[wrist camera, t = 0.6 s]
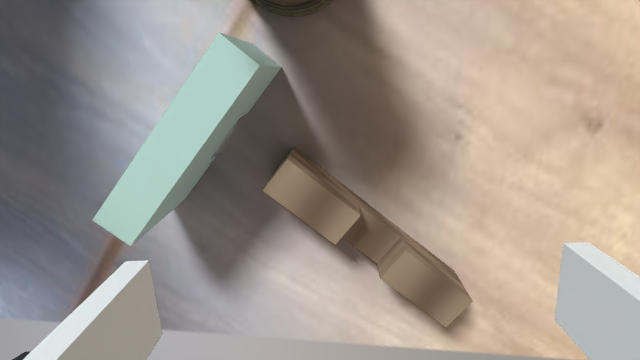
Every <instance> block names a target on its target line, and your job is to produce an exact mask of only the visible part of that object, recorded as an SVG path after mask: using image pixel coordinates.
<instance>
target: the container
mask: <svg viewBox="0 0 640 360" xmlns="http://www.w3.org/2000/svg"><path fill="white" fill-rule="evenodd" d="M253 1H254V2H256V3H257V4H258V5H260V6H261V7H263V8H265V9H266V10H269V11H271V12H273V13H276V14H280V15H285V16H303V15H308V14H312V13H314V12H317V11H319V10H320V9H322V8H324V7H325V6H326V5H328V4H329V3H330V2H331V1H332V0H253Z"/></svg>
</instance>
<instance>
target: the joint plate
mask: <svg viewBox="0 0 640 360" xmlns="http://www.w3.org/2000/svg"><path fill="white" fill-rule="evenodd" d="M281 68H282V67H281V66H280V65H279V64H278V63H276V62H275V61H274V60H273V59H271V58H270V57H269V56H268V55H266V54H265V53H264V52H263V51H261V50H260V49H259V48H258V47H256V46H255V45H254V44H252V43H249V42H246V41H243V40H240V39H237V38H234V37H231V36H228V35H225V34H222V33H218V34H217V36H216V37H215V39H214V40H213V42H212V43H211V45H210V46H209V48H208V49H207V51H206V52H205V54H204V55H203V57H202V58H201V60H200V61H199V63H198V64H197V66H196V67H195V68H194V70H193V71H192V73H191V74H190V76H189V77H188V79H187V80H186V82H185V83H184V85H183V86H182V88H181V89H180V91H179V92H178V94H177V95H176V97H175V98H174V100H173V101H172V103H171V104H170V106H169V107H168V108H167V110H166V111H165V113H164V114H163V116H162V117H161V119H160V120H159V122H158V123H157V125H156V126H155V128H154V129H153V131H152V132H151V134H150V135H149V137H148V138H147V140H146V141H145V143H144V144H143V146H142V147H141V149H140V150H139V151H138V153H137V154H136V156H135V157H134V159H133V160H132V162H131V163H130V165H129V166H128V168H127V169H126V171H125V172H124V174H123V175H122V177H121V178H120V180H119V181H118V183H117V184H116V186H115V187H114V189H113V190H112V192H111V193H110V194H109V196H108V197H107V199H106V200H105V202H104V203H103V205H102V206H101V208H100V209H99V211H98V212H97V214H96V215H95V217H94V218H93V221H94V222H96V223H97V224H99V225H100V226H101V227H103V228H104V229H106V230H107V231H109V232H110V233H112V234H113V235H115V236H116V237H118V238H119V239H120V240H122V241H123V242H125V243H126V244H128V245H129V246H131V245H132V244H134V243H135V242H136V241H137V240H138V239H139V238H141V237H142V236H143V235H144V234H145V233H146V232H147V231H149V230H150V229H151V228H152V227H153V226H154V225H156V224H157V223H158V222H159V221H160V220H161V219H163V218H164V217H165V216H166V215H167V214H168V213H170V212H171V211H172V210H173V209H174V208H175V207H176V206H178V205H179V204H180V203H181V202H182V201H183V200H185V199H186V197H187V196H188V195H189V193H190V192H191V191H192V189H193V188H194V186H195V185H196V184H197V182H198V181H199V180H200V178H201V177H202V176H203V174H204V173H205V171H206V170H207V169H208V167H209V166H210V165H211V163H212V162H213V161H214V159H215V158H216V157H215V156H214V155H213V154H214V153H215V152H216V150H217V149H218V148H219V146H220V145H221V143H222V142H223V141H224V139H225V138H226V137H227V135H228V134H229V132H230V131H231V130H232V128H233V127H234V126H235V124H236V123H237V121H238V120H239V119H240V117H242V116H244V115H246V114H248V113H249V111H250V110H251V109H252V107H253V106H254V105H255V103H256V102H257V100H258V99H259V98H260V96H261V95H262V94H263V92H264V91H265V90H266V88H267V87H268V85H269V84H270V83H271V81H272V80H273V79H274V77H275V76H276V74H277V73H278V72H279V70H280V69H281Z"/></svg>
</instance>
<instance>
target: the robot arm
mask: <svg viewBox="0 0 640 360" xmlns="http://www.w3.org/2000/svg"><path fill="white" fill-rule="evenodd" d="M555 321H556V323H557V324H558V325H559V326H560V327H561V328H562V329H563V330H564V332H565V333H566V334H567V335H568V336H569V337H570V338H571V339H572V341H573V342H574V343H575V344H576V345H577V346H578V347H579V348H580V350H581V351H582V352H583V353H584V354H585V355H586V356H587V357H588V358H589V360H640V277H639V276H637V275H636V274H635V273H633V272H632V271H630V270H629V269H627V268H626V267H624V266H623V265H621V264H620V263H618V262H617V261H615V260H614V259H612V258H611V257H609V256H608V255H606V254H605V253H603V252H602V251H600V250H599V249H598V248H596V247H595V246H593V245H592V244H590V243H589V242H582V243H563V249H562V258H561V267H560V276H559V285H558V294H557V303H556V312H555ZM161 335H162V329H161V324H160V319H159V313H158V308H157V302H156V297H155V291H154V286H153V280H152V275H151V269H150V264H149V260H146V261H125V262H124V263H123V264H122V265H121V266H120V267H119V268H118V269H117V270H116V271H115V272H114V273H113V274H112V275H111V276H110V277H109V278H108V279H107V280H106V281H105V282H103V283H102V284H101V285H100V286H99V287H98V288H97V289H96V290H95V291H94V292H93V293H92V294H91V295H90V296H89V297H88V298H87V299H86V300H85V301H84V302H83V303H81V304H80V305H79V306H78V307H77V308H76V309H75V310H74V311H73V312H72V313H71V314H70V315H69V316H68V317H67V318H66V319H65V320H64V321H63V322H62V323H61V324H59V325H58V326H57V327H56V328H55V329H54V330H53V331H52V332H51V333H50V334H49V335H48V336H47V337H46V338H45V339H44V340H43V341H42V342H41V343H40V344H39V345H38V346H37V347H35V348H34V349H33V350H32V351H31V352H24V353H22V354H21V355H19V356H18V357H16V358H14V359H13V360H146V359H147V358H148V356H149V355H150V353H151V351H152V350H153V348H154V347H155V345H156V343H157V342H158V340H159V339H160V337H161Z"/></svg>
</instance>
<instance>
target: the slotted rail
mask: <svg viewBox="0 0 640 360" xmlns="http://www.w3.org/2000/svg"><path fill="white" fill-rule="evenodd" d="M263 191H264V192H265V193H266V194H268V195H269V196H270V197H272V198H273V199H274V200H276V201H277V202H278V203H280V204H281V205H282V206H284V207H285V208H286V209H288V210H289V211H290V212H292V213H293V214H294V215H296V216H297V217H298V218H300V219H301V220H303V221H304V222H305V223H307V224H308V225H309V226H311V227H312V228H313V229H315V230H316V231H317V232H319V233H320V234H321V235H323V236H324V237H325V238H327V239H328V240H329V241H331V242H332V243H333V244H335V245H336V243H337V242H338V241H339V240H340V239H341V238H343V239H345V240H346V241H347V242H349V243H350V244H351V245H353V246H354V247H355V248H357V249H358V250H359V251H361V252H362V253H363V254H365V255H366V256H367V257H369V258H370V259H371V260H373V261H374V262H375V263H377V267H378V271H379V276H380V279H382V280H383V281H384V282H386V283H387V284H388V285H390V286H391V287H392V288H394V289H395V290H396V291H398V292H399V293H400V294H402V295H403V296H404V297H406V298H407V299H408V300H410V301H411V302H412V303H414V304H415V305H416V306H418V307H419V308H420V309H422V310H423V311H425V312H426V313H427V314H429V315H430V316H431V317H433V318H434V319H435V320H437V321H438V322H439V323H441V324H442V325H443V326H445V327H447V326H448V325H449V324H450V323H451V322H452V321H453V320H454V319H455V318H456V317H457V316H458V315H459V314H460V313H461V312H462V311H463V310H464V309H465V308H466V307H467V306H468V305H469V304H471V303H472V302H473V301H472V299H471V298H470V296H469V294H468V293H467V291H466V290H465V288H464V286H463V285H462V283H461V281H460V280H459V278H458V276H457V275H456V273H455V271H454V270H453V269H451V268H450V267H449V266H447V265H446V264H445V263H443V262H442V261H441V260H440V259H438V258H437V257H436V256H434V255H433V254H432V253H431V252H429V251H428V250H427V249H425V248H424V247H423V246H422V245H420V244H419V243H418V242H416V241H415V240H414V239H412V238H411V237H410V236H409V235H407V234H406V233H405V232H403V231H402V230H401V229H400V228H398V227H397V226H396V225H394V224H393V223H392V222H391V221H389V220H388V219H387V218H385V217H384V216H383V215H381V214H380V213H379V212H378V211H376V210H375V209H374V208H372V207H371V206H370V205H369V204H367V203H366V202H365V201H363V200H362V199H361V198H359V197H358V196H357V195H356V194H354V193H353V192H352V191H350V190H349V189H348V188H347V187H345V186H344V185H343V184H341V183H340V182H339V181H338V180H336V179H335V178H334V177H332V176H331V175H330V174H328V173H327V172H326V171H325V170H323V169H322V168H321V167H319V166H318V165H317V164H316V163H314V162H313V161H312V160H310V159H309V158H308V157H307V156H305V155H304V154H303V153H301V152H300V151H299V150H297V149H296V148H295V147H293V148H292V150H291V151H290V152H289V153H288V155H287V156H286V157H285V159H284V160H283V161H282V162H281V164H280V165H279V166H278V167H277V169H276V170H275V171H274V173H273V174H272V176H271V177H270V179H269V181H268V182H267V184H266V186H265V187H264V189H263Z"/></svg>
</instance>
